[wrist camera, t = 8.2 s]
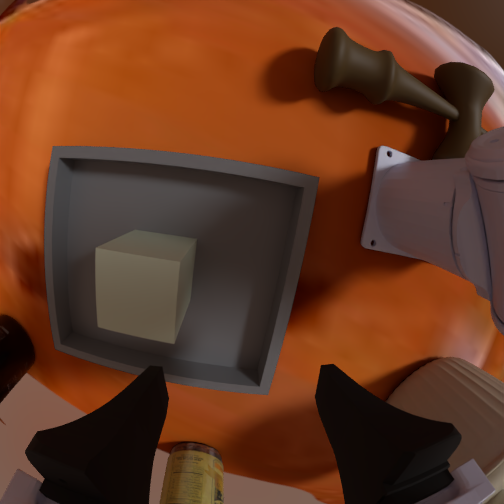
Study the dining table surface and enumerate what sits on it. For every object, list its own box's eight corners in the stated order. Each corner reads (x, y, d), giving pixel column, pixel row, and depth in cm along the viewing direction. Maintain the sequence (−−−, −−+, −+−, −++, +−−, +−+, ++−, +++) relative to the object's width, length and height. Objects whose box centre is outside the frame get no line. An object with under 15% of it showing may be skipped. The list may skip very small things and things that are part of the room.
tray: (306, 178, 19) (319, 177, 16) (264, 372, 22) (267, 394, 19) (74, 150, 17) (52, 146, 14) (70, 333, 20) (54, 349, 17)
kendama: (315, 27, 16) (484, 110, 18) (300, 124, 19) (479, 192, 20) (335, -12, 10) (522, 104, 12) (321, 103, 13) (521, 199, 14)
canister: (456, 298, 22) (601, 401, 1) (477, 377, 26) (555, 456, 5) (323, 412, 24) (388, 588, 3) (382, 456, 28) (432, 559, 7)
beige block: (197, 238, 18) (180, 261, 12) (190, 300, 19) (174, 344, 13) (135, 229, 18) (95, 247, 12) (132, 289, 19) (97, 326, 13)
